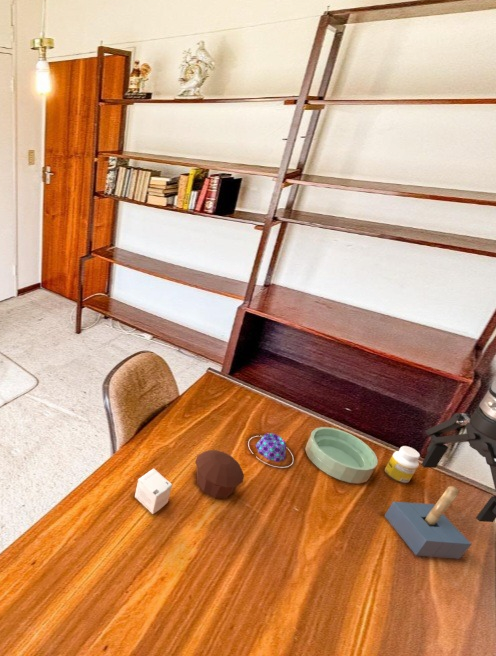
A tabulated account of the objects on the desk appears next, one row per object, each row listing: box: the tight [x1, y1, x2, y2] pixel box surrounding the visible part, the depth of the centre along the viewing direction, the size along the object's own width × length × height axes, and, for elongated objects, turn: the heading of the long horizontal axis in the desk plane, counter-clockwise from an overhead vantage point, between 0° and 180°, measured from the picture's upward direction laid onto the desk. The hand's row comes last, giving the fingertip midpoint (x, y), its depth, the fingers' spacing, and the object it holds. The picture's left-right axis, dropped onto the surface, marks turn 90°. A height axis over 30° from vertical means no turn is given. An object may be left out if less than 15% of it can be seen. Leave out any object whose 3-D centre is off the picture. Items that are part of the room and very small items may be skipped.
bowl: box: [304, 426, 379, 484], centre depth 113 cm, size 16×16×6 cm
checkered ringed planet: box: [247, 432, 295, 469], centre depth 116 cm, size 12×12×5 cm
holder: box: [384, 501, 472, 560], centre depth 93 cm, size 10×10×6 cm
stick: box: [424, 485, 460, 527], centre depth 91 cm, size 2×2×17 cm
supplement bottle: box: [384, 445, 421, 484], centre depth 108 cm, size 5×5×10 cm
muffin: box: [195, 449, 245, 500], centre depth 103 cm, size 12×11×10 cm
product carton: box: [134, 468, 173, 515], centre depth 99 cm, size 6×6×7 cm
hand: (454, 491), depth 87 cm, fingers open, 13 cm apart
